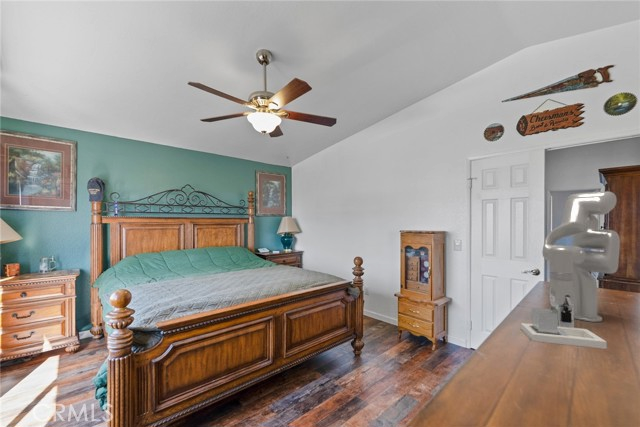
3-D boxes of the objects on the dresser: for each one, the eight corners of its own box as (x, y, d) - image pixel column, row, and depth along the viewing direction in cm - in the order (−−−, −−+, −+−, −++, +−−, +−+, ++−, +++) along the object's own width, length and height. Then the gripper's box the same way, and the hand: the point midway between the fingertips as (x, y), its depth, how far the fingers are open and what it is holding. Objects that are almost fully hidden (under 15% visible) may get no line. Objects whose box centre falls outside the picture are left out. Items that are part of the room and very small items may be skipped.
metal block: (532, 332, 114) (532, 307, 114) (550, 334, 112) (549, 309, 112) (538, 338, 108) (538, 312, 108) (557, 340, 106) (557, 313, 107)
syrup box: (575, 333, 116) (574, 297, 116) (558, 332, 117) (557, 296, 117) (565, 327, 121) (565, 293, 122) (550, 327, 123) (549, 293, 123)
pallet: (521, 331, 118) (520, 323, 118) (586, 338, 111) (586, 329, 111) (532, 343, 106) (532, 334, 106) (606, 351, 100) (606, 341, 100)
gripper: (541, 272, 129) (542, 311, 129) (560, 280, 113) (561, 325, 112) (561, 273, 127) (562, 313, 126) (583, 281, 110) (585, 327, 110)
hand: (562, 318), depth 119 cm, fingers open, 6 cm apart
